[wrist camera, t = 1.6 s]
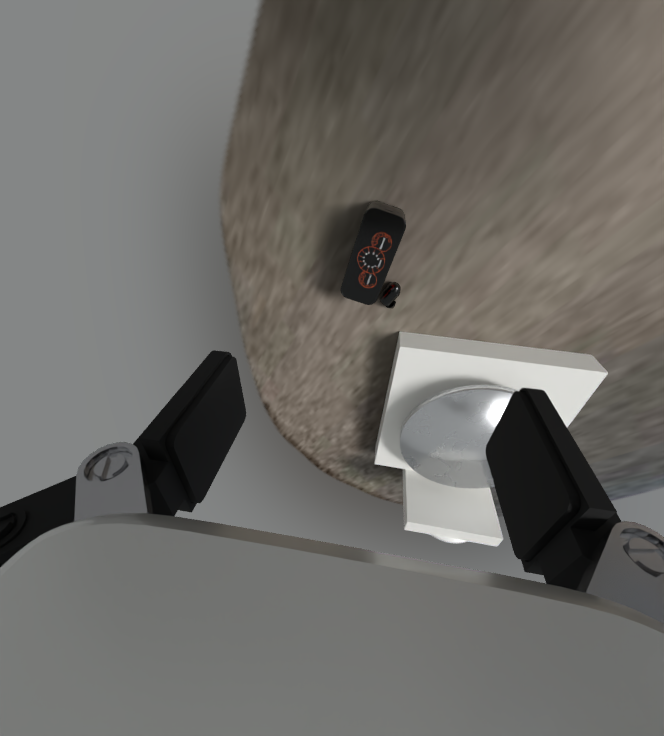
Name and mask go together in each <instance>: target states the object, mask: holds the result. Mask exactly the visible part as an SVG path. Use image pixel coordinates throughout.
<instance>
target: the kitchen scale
mask: <svg viewBox="0 0 664 736" xmlns="http://www.w3.org/2000/svg"><path fill="white" fill-rule="evenodd" d="M607 374H608V372H607V371H606V370H605V369H604V368H603V366H602V365H601V364H600V363H599V362H598V361H597V360H596V359H595V358H594V356H593V355H590V354H581V353H573V352H565V351H557V350H549V349H540V348H532V347H524V346H516V345H508V344H499V343H491V342H483V341H475V340H467V339H458V338H450V337H442V336H434V335H426V334H417V333H409V332H401V331H400V332H399V336H398V341H397V346H396V351H395V356H394V360H393V365H392V370H391V375H390V380H389V384H388V389H387V394H386V399H385V403H384V408H383V413H382V418H381V423H380V427H379V432H378V437H377V442H376V446H375V463H374V464H377V465H383V466H389V467H395V468H401V469H403V503H404V530H409V531H415V532H421V533H426V534H430V535H432V536H433V537H435V538H437V539H439V540H441V541H444V542H448V543H464V542H467V541H470V542H475V543H481V544H486V545H492V546H498V545H499V544H500V542H501V541H502V540H503V536H502V532H501V528H500V525H499V521H498V517H497V513H496V510H495V506H494V502H493V499H492V495H491V491H490V487H495V485H494V482H493V478H492V475H491V471H490V468H489V464H488V461H487V458H486V445H487V443H488V441H489V439H490V437H491V435H492V433H493V431H494V429H495V428H496V426H497V424H498V422H499V420H500V418H501V416H502V414H503V412H504V410H505V408H506V406H507V404H508V402H509V400H510V398H511V396H512V394H513V393H514V392H515V391H519V390H520V389H521V388H531V389H540V390H544V391H545V392H546V394H547V395H548V397H549V399H550V400H551V402H552V404H553V405H554V407H555V409H556V410H557V412H558V414H559V415H560V417H561V419H562V420H563V422H564V424H565V425H566V427H568V426H569V424H570V423H571V422H572V420H573V419H574V418H575V416H576V415H577V414H578V412H579V411H580V410H581V408H582V407H583V406H584V404H585V403H586V402H587V400H588V399H589V398H590V396H591V395H592V394H593V393H594V391H595V390H596V389H597V387H598V386H599V385H600V383H601V382H602V381H603V379H604V378H605V377H606V375H607Z"/></svg>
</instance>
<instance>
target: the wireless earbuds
mask: <svg viewBox="0 0 664 736" xmlns="http://www.w3.org/2000/svg"><path fill="white" fill-rule="evenodd" d="M405 228H406V222H405V214H404V212H403V211H402V210H401V209H399V208H397V207H394V206H391V205H388V204H385V203H382V202H380V201H372V202H371V203H370V204H369V205H368V206H367V209H366V211H365V214H364V217H363V220H362V223H361V226H360V230H359V233H358V236H357V239H356V242H355V245H354V249H353V252H352V255H351V258H350V261H349V264H348V267H347V271H346V274H345V277H344V280H343V283H342V286H341V293H342V295H343V296H344V297H346V298H348V299H351V300H354V301H357V302H360V303H363V304H367V305H371V304H373V303H375V302H376V300H377V298H378V295H379V293H380V290H381V288H382V285H383V283H384V281H385V278H386V276H387V273H388V271H389V268H390V266H391V263H392V261H393V258H394V256H395V253H396V251H397V248H398V246H399V244H400V241H401V239H402V236H403V234H404V231H405ZM400 289H401V288H400V285H399V284H398V283H396V282H393V283H390V284H388V285H387V287H386V288H385V289H384V290H383V291H382V292H381V293H380V295H379V299H380V301H381V302H382V304H384V305H385V306H386V307H387V308H394V306H395V303H396V302H395V301H394V300H395V299H396V298H397V297H398V296H399V294H400Z"/></svg>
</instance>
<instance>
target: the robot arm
mask: <svg viewBox="0 0 664 736" xmlns="http://www.w3.org/2000/svg"><path fill="white" fill-rule="evenodd" d="M245 417H246V409H245V404H244V398H243V393H242V387H241V383H240V377H239V371H238V366H237V361H236V358H235V357H232V355H231V353H229V352H222V351H212V352H211V353H210V354H209V355H208V356H207V357H206V359H205V360H204V361H203V362H202V363H201V364H200V366H199V367H198V368H197V369H196V370H195V372H194V373H193V374H192V375H191V376H190V378H189V379H188V380H187V381H186V382H185V384H184V385H183V386H182V387H181V388H180V389H179V390H178V391H177V393H176V394H175V395H174V396H173V397H172V399H171V400H170V401H169V402H168V403H167V405H166V406H165V407H164V408H163V409H162V410H161V412H160V413H159V414H158V415H157V416H156V418H155V419H154V420H153V421H152V422H151V424H150V425H149V426H148V427H147V428H146V430H145V431H144V432H143V433H142V434H141V435H140V436H139V438H138V439H137V440H136V441H135V442H134V444H131V443H127V442H117V443H113V444H109V445H106V446H104V447H101V448H99V449H97V450H96V451H95V452H93V453H91V454H90V455H89V456H88V457H87V458H86V459H85V460H84V461H83V462H82V463H81V465H80V466H79V468H78V471H77V475H76V476H75V477H72V478H70V479H68V480H65V481H63V482H60V483H58V484H56V485H53V486H51V487H49V488H46V489H44V490H41V491H39V492H36V493H34V494H31V495H29V496H27V497H24V498H22V499H20V500H17V501H15V502H12V503H10V504H7V505H5V506H3V507H0V736H664V537H663V536H662V535H660V534H659V533H657V532H655V531H654V530H652V529H650V528H648V527H646V526H644V525H641V524H638V523H635V522H627V521H623V522H621V520H620V518H619V517H618V515H617V513H616V512H617V511H616V509H615V508H614V506H613V504H612V503H611V501H610V499H609V498H608V496H607V494H606V493H605V491H604V489H603V488H602V486H601V484H600V483H599V481H598V479H597V478H596V476H595V474H594V472H593V471H592V469H591V467H590V466H589V464H588V462H587V461H586V459H585V457H584V456H583V454H582V452H581V451H580V449H579V447H578V446H577V444H576V442H575V441H574V439H573V437H572V436H571V434H570V432H569V430H568V429H567V427H566V425H565V424H564V422H563V420H562V419H561V417H560V415H559V414H558V412H557V410H556V409H555V407H554V405H553V404H552V402H551V400H550V399H549V397H548V395H547V394H546V392H545V391H544V390H540V389H531V388H521V389H520V390H519V391H515V392H514V393H513V394H512V396H511V398H510V400H509V402H508V404H507V406H506V408H505V410H504V412H503V414H502V416H501V418H500V420H499V422H498V424H497V426H496V428H495V429H494V431H493V433H492V435H491V437H490V439H489V441H488V443H487V445H486V458H487V461H488V464H489V468H490V471H491V475H492V478H493V482H494V485H495V489H496V492H497V495H498V499H499V502H500V506H501V509H502V513H503V516H504V519H505V523H506V526H507V530H508V533H509V537H510V540H511V543H512V547H513V550H514V553H515V555H516V557H517V558H518V559H521V561H522V564H523V567H524V571H525V572H529V573H535V574H540V575H544V578H545V581H546V583H547V584H545V583H540V582H535V581H530V580H525V579H520V578H515V577H511V576H506V575H500V574H496V573H490V572H485V571H479V570H474V569H469V568H463V567H458V566H452V565H447V564H441V563H436V562H431V561H425V560H420V559H415V558H409V557H404V556H398V555H392V554H387V553H382V552H376V551H371V550H365V549H360V548H354V547H349V546H343V545H338V544H332V543H326V542H321V541H315V540H309V539H304V538H299V537H293V536H287V535H282V534H276V533H270V532H264V531H259V530H253V529H247V528H242V527H236V526H230V525H225V524H219V523H212V522H206V521H200V520H192V519H187V518H181V517H174V516H175V514H176V512H177V510H181V511H187V512H192V511H193V509H194V507H195V505H196V504H197V503H201V502H202V500H203V499H204V497H205V495H206V494H207V492H208V490H209V488H210V486H211V484H212V482H213V480H214V478H215V476H216V474H217V472H218V471H219V469H220V466H221V465H222V463H223V461H224V459H225V457H226V455H227V453H228V451H229V449H230V447H231V445H232V444H233V442H234V440H235V438H236V436H237V434H238V432H239V430H240V428H241V426H242V424H243V422H244V420H245Z"/></svg>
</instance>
